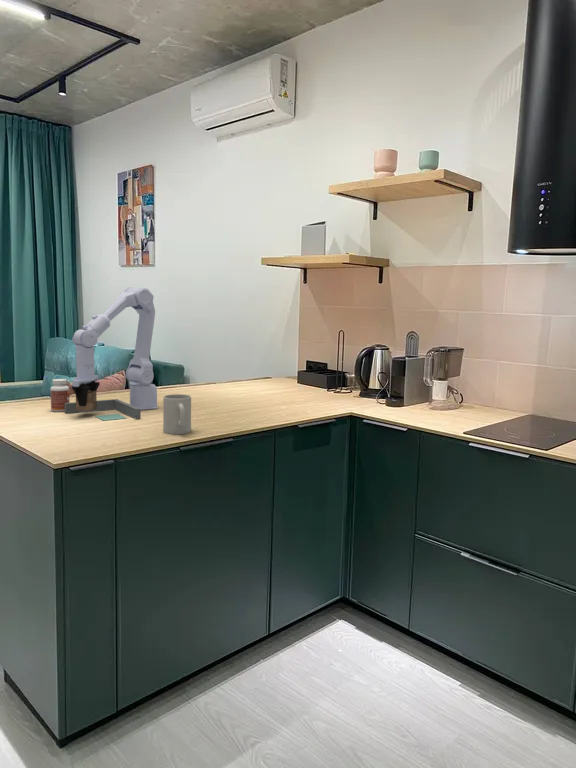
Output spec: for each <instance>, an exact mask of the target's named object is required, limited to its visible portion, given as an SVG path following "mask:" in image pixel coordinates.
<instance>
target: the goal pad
mask: <svg viewBox="0 0 576 768" xmlns="http://www.w3.org/2000/svg"><path fill="white" fill-rule="evenodd" d="M94 417H95V418H97V419H99V420H101V421H103V422H105V421H115V420H125V419H127V417H125V416H124V415H121V414H120V413H115V414H114V413H113V414H111V413H110V414H101V415H95V416H94Z"/></svg>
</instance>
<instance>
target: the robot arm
mask: <svg viewBox="0 0 576 768" xmlns="http://www.w3.org/2000/svg"><path fill="white" fill-rule="evenodd" d="M154 297H155V295H153V293H152V292H151V291H150V290H149V289H148V288H146V287H127V288H126V289H124V291H122V292H120V295H119V296H118V297H117V298H116V299H115V301H114V302H113V303H112V304H111V305H110V306H108V308H106V310H105V311H104V312H103V313H97V314H93V315H92V316H91V318H92V319H91V320H89V321H88V322H87V323H86V324H84V325H82V329H78V330H75V332H74V334H73V337H71V340H72V343H73V345H75V354H76V355H75V359H76V360H75V361H76V376H75V377H73V380H72V381H71V383H72V385H71V389H72V391H73V393H74V394H75V398H76V397H77V400H78V403H79V406H86V402H87V393H88V390H89V391H96V392H97V391H98V388H99V386H100V382H99V375H97V374H95V348H94V346H95V345H97V343H98V338H99V337H100V336H102V334H103V333H104V332H105V331H107V330H108V329H109V328H110V327H111V321H112V320H114V319H115V317H117V316H118V315H119V314H120V313H122V312H123V311H124V310H126V309H127V308H130V307H131V308H133V310H135V312H136V313H137V315H138V316H139V317H138V323H137V332H136V339H135V346H134V353H133V355H134V356H133V357H132V358H131V360H130V361H129V365H128V367H127V369H126V370H125V378H126V380H127V381H128V384H129V404H130V405H133V406H135V407H137V408H140V409H141V410H142V411H144V410H153V409H158V408H159V407H158V389H157V386H156V385H155V384H154V383H152V382H153V380H154V378H155V376H154V375H155V374H154V371H153V369H154V368H153V366H154V365H153V363H152V361H151V360H150V357H151V347H152V340H153V333H154V331H153V330H154V325H155V318H156V309H155V305H154Z"/></svg>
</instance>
